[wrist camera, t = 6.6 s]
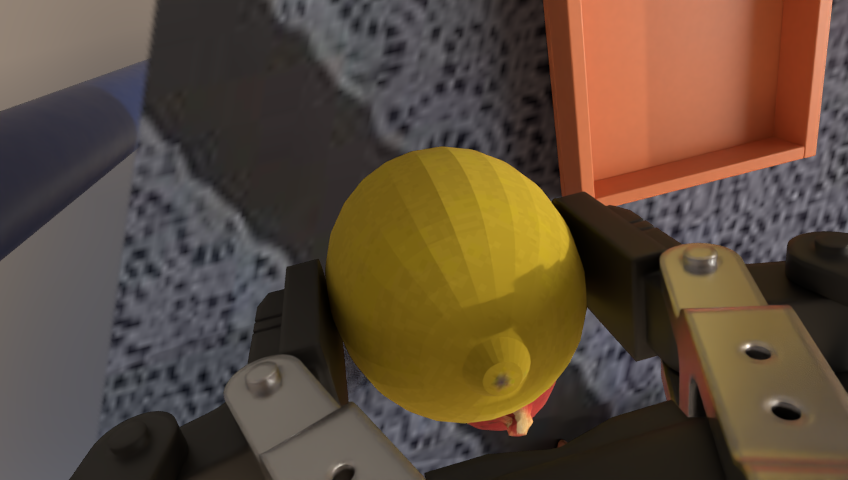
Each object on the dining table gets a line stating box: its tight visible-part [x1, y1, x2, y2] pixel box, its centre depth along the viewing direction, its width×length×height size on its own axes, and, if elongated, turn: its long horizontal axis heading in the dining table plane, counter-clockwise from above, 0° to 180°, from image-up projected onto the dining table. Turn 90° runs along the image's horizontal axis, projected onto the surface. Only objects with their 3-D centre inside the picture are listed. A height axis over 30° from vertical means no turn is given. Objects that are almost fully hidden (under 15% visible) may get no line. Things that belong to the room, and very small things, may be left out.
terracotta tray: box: [543, 0, 832, 206], centre depth 24 cm, size 11×11×2 cm
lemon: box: [325, 147, 587, 423], centre depth 13 cm, size 6×6×8 cm
